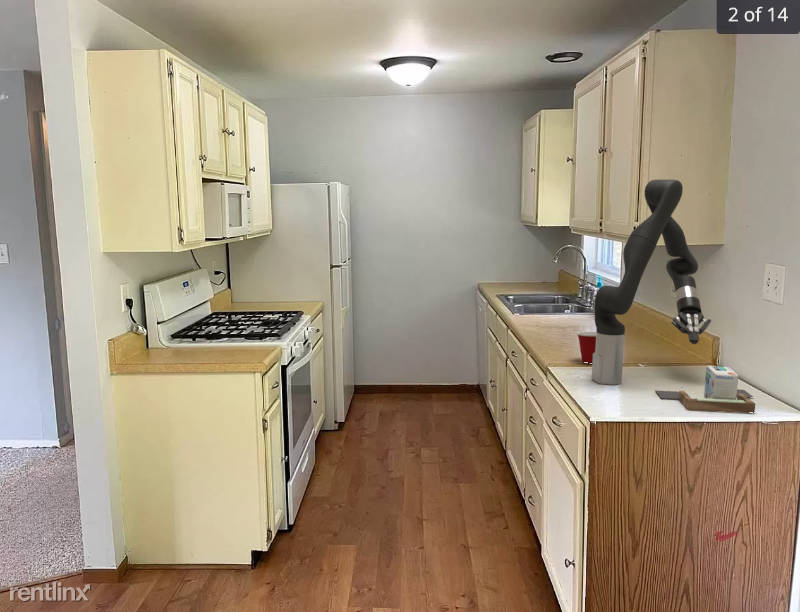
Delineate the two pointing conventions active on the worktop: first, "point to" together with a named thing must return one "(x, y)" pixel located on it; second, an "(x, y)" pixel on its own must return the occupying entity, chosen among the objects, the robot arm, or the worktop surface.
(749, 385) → the worktop surface
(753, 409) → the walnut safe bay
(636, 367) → the worktop surface
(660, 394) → the pads
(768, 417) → the worktop surface
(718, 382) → the light bulb box
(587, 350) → the plastic cup
